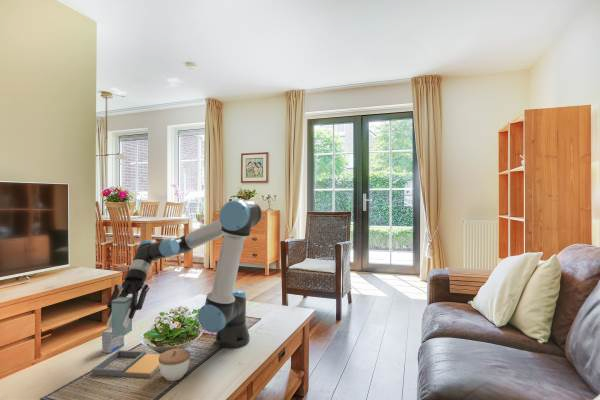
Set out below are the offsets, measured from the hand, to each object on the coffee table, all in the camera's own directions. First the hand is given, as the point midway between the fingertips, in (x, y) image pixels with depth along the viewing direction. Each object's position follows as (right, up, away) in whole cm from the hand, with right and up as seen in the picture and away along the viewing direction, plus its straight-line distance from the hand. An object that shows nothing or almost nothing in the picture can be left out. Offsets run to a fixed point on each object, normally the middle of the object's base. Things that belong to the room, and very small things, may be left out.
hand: (116, 326), depth 127 cm
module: (0, -4, +4) cm, 5 cm away
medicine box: (-11, -16, +18) cm, 27 cm away
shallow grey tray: (-1, -16, +4) cm, 17 cm away
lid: (+10, -16, +3) cm, 20 cm away
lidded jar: (+23, -17, -4) cm, 29 cm away
